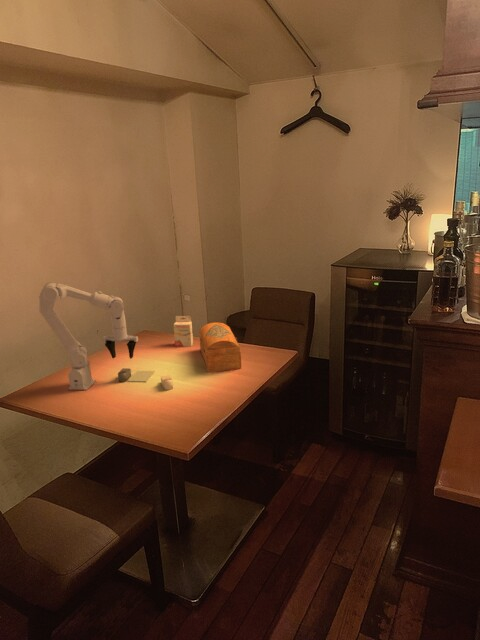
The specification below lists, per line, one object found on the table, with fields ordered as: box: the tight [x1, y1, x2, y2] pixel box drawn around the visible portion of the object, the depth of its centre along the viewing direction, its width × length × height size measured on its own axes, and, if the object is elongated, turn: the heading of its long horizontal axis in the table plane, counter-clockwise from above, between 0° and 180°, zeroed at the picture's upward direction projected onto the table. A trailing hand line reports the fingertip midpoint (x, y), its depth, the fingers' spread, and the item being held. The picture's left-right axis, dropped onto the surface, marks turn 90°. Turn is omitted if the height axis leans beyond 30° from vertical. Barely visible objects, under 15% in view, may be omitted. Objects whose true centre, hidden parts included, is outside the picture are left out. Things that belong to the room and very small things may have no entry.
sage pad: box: [127, 370, 155, 383], centre depth 200 cm, size 11×8×1 cm
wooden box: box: [199, 322, 242, 373], centre depth 215 cm, size 30×16×14 cm, turn 9°
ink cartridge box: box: [173, 315, 194, 347], centre depth 236 cm, size 9×5×15 cm, turn 84°
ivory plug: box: [160, 374, 174, 391], centre depth 189 cm, size 9×4×4 cm, turn 22°
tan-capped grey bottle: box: [117, 368, 133, 383], centre depth 199 cm, size 9×4×4 cm, turn 172°
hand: (122, 357), depth 197 cm, fingers open, 7 cm apart
